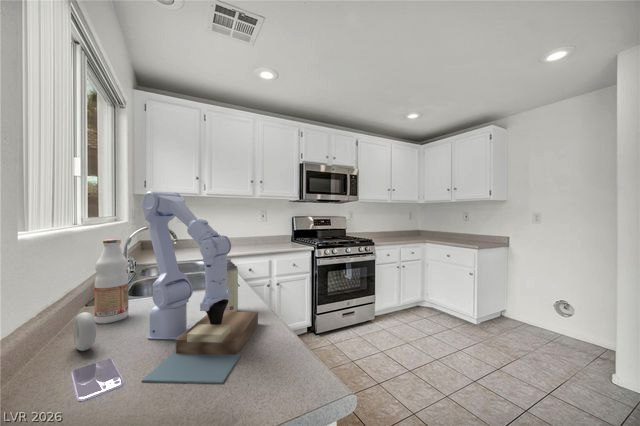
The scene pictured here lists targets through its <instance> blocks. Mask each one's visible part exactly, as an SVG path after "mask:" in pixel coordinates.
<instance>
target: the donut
mask: <svg viewBox="0 0 640 426" xmlns="http://www.w3.org/2000/svg"><path fill="white" fill-rule="evenodd" d="M96 324H97V323H96V322H95V316H94V315H93V314H92V313H91V312H87V311H83V312H81V313H78V315H77V316H76V317H75V318H74V321H73V327H72V330H73V331H72V334H73V336H72V337H73V343H74V345H75V348H76V349H77V350H79V351H81V352H85V351H88V350H89V349H90V348H92V347H93V346H94V344H95V341H96V338H97V325H96Z"/></svg>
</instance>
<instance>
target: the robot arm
mask: <svg viewBox="0 0 640 426" xmlns="http://www.w3.org/2000/svg"><path fill="white" fill-rule="evenodd" d="M185 201H186V200H185V198H184V197H183V196H182V195H181V194H180V193H178V192H164V191H163V192H161V191H154V190H148V191H147V192H146V193H145V194H144V196H143V198H142V200H141V208H142V212H143V216H144V219H145V221H146V222H147V223H146V224H147V228H148V231H149V237H150V241H151V244H152V248H153V253H154V257H155V261H156V267H157V270H158V276H159V277H157V279H156V280H155V281H154V282H153V283H152V285H151V286H152V300H153V303H154V305H155V306H153V308H152V309H151V310H150V313H149V336H147V339H148V340H176V339H177V338H179V337H180V336H181V335H182V334H184V333H185V332H186V331H187V330H189V329H190V328H191V327H192V326H187V325H188V324H187V320H188V319H187V316H188V313H187V309H188V307H187V304H188V303H189V301H190V300H189V299H191V297H192V296H193V292H194V291H193V290H194V289H193V284H192V283H191V282H190V280H189V277H188V275H187V274H185V273H184V272H183V271H180V268H179V266H178V260H177V256H176V253H175V252H176V251H175V249H174V244H173V240H172V236H171V231H170V228H169V222H170V221H173V219H174V218H175V217H176V218H177V219H178V220H180V222H182V223H183V224H184V225H185V226H186V227H187V231H186V232H187V234H188V235H189V236H190V237H191V238H192V239H193V240H194V241H195V243H197V244H198V246H199V253H200V254H201V256H202V258H203V259H202V262H203V264H204V296H203V299H202V302H200V303H199V311H200V312H205V313H206V315H208V317H209V320H210V324H213V325H221V323H222V319H223V314H224V311H225V308H226V306H227V304H228V299H225V298H230V297H231V294H229V288H227V259H228V254H230V252H231V250H232V242H231V241H230V239H229V237H228V236H226V235H221V234H220V233H218V232H217V230H215V229H213V227H212V226H211V225H210V224H209V222H208V221H207V220H206V219H198V218H197V216H196V215H195V214H194V213H193V211H192V210H190V208H189V207H188V206H187V204H186V202H185Z"/></svg>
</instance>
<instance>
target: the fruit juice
mask: <svg viewBox="0 0 640 426" xmlns="http://www.w3.org/2000/svg"><path fill="white" fill-rule="evenodd" d="M121 242H122V240H121V239H120V238H112V239H111V238H109V239H103V240H102V243H103V249H102V252H101V254H100V255H99V258H98V259H97V260H96V262H95V266H94V268H95V272H96V277H95V279H94V319H95V323H96V324H110V323H115V322H119V321H122V320H124V319H126V318H127V317H128V316H129V275H128V272H127V270H128V266H129V261H128V259H127V258H126V256H125V255H124V253H123V250H122V248H121Z"/></svg>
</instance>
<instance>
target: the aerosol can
mask: <svg viewBox="0 0 640 426" xmlns="http://www.w3.org/2000/svg"><path fill="white" fill-rule="evenodd" d="M238 270H239V269H238V265H235V263H233V262H232V260H231V258H227V288H229V294H231V297H230V298H225V299H228V304H227V306H226V308H225V311H224V312H239V291H238V290H239V286H238V285H239V280H238V279H239V277H238V276H239V275H238V274H239V271H238Z"/></svg>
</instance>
